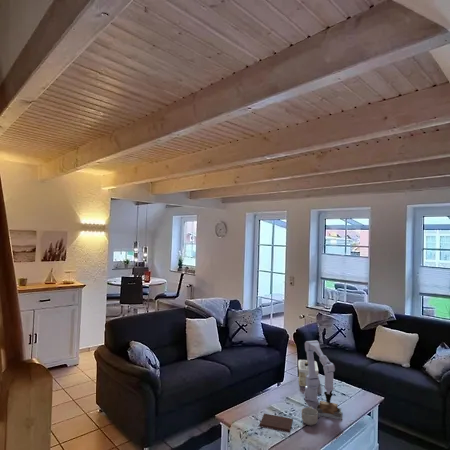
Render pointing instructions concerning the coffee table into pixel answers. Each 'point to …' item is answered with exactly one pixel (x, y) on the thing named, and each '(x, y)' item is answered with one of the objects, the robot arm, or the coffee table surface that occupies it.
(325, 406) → the tan wooden block
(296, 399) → the coffee table surface
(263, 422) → the notebook
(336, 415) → the board
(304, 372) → the storage basket
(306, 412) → the teacup
